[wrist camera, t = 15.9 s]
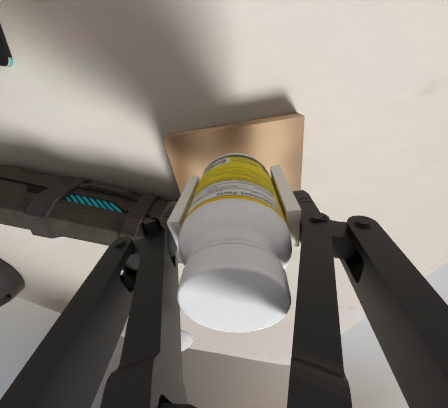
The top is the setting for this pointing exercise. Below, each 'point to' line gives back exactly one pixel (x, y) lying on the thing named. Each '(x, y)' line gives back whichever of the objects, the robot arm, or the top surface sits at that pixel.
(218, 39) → the top surface
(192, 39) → the top surface
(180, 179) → the board
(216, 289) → the pill bottle
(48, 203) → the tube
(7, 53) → the colourful clamp stand
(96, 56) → the top surface
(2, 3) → the top surface
